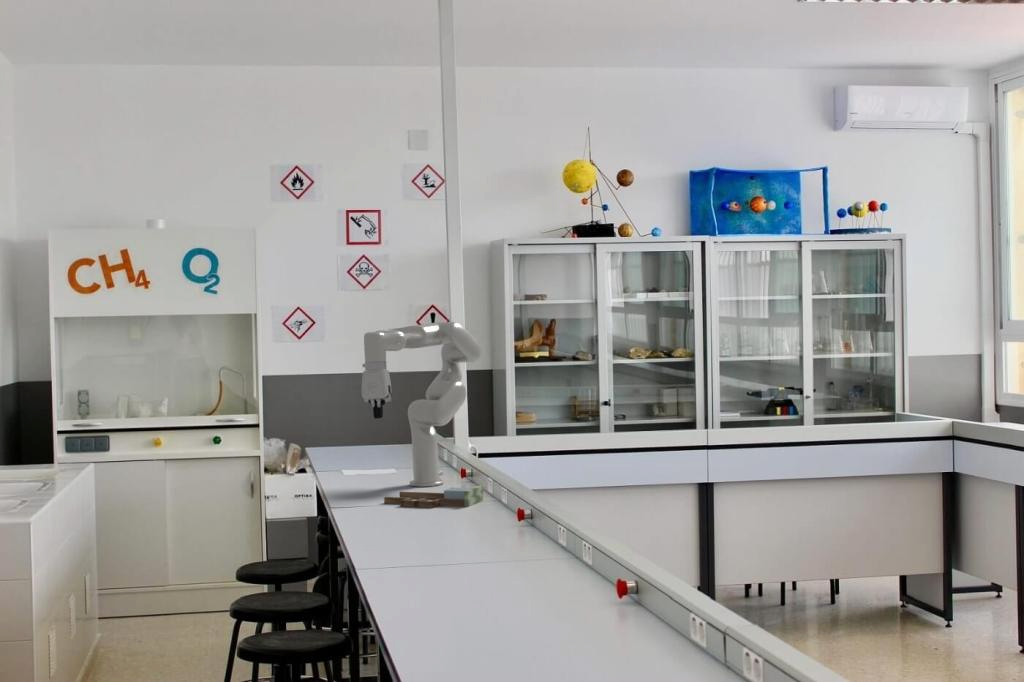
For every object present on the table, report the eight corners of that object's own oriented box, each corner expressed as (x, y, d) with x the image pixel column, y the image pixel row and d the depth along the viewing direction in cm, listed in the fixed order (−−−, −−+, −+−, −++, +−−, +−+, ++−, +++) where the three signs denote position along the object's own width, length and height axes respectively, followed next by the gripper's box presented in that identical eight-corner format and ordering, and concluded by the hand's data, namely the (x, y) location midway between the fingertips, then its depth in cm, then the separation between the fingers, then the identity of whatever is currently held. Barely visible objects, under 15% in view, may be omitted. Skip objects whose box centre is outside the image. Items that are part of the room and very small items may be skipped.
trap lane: (401, 497, 384) (400, 483, 384) (483, 500, 371) (482, 485, 371) (377, 505, 370) (377, 490, 370) (462, 509, 357) (461, 493, 356)
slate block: (452, 502, 371) (451, 487, 371) (474, 502, 368) (473, 488, 368) (444, 505, 365) (444, 490, 365) (466, 506, 362) (465, 491, 362)
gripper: (352, 367, 391) (354, 419, 392) (388, 367, 385) (391, 419, 386) (363, 366, 398) (366, 416, 399) (399, 365, 392) (401, 417, 393)
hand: (378, 418), depth 392 cm, fingers closed
